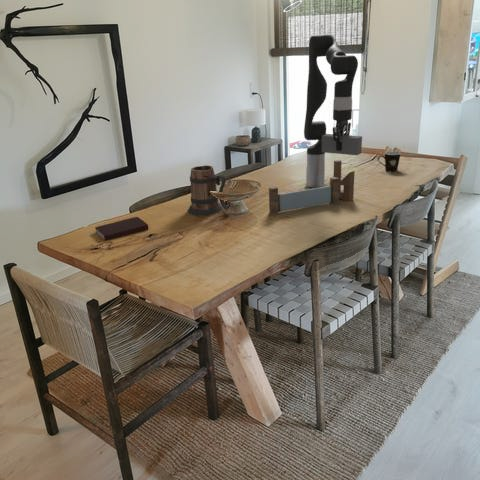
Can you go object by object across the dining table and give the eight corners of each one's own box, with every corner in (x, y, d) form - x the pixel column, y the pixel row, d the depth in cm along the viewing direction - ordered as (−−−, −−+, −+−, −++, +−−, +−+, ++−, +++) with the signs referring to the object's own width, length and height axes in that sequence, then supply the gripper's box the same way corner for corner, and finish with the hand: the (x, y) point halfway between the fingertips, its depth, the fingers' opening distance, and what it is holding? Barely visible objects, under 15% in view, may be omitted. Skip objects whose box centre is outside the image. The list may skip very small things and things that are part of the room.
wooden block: (348, 201, 224) (350, 164, 217) (330, 197, 231) (331, 160, 225) (353, 199, 226) (355, 162, 219) (335, 195, 234) (336, 159, 227)
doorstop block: (321, 152, 204) (321, 135, 201) (326, 150, 207) (326, 133, 204) (357, 155, 195) (358, 138, 193) (361, 153, 199) (362, 136, 196)
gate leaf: (275, 210, 215) (275, 193, 212) (328, 201, 224) (328, 185, 221) (278, 212, 213) (277, 195, 210) (331, 202, 221) (331, 186, 218)
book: (149, 230, 202) (148, 223, 201) (105, 242, 193) (103, 234, 191) (137, 223, 212) (136, 216, 211) (95, 233, 202) (94, 226, 201)
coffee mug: (401, 169, 273) (402, 152, 269) (396, 173, 266) (398, 155, 262) (380, 167, 279) (382, 150, 275) (376, 171, 272) (377, 153, 268)
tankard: (180, 212, 221) (175, 170, 213) (201, 202, 234) (198, 162, 226) (221, 219, 209) (218, 175, 201) (241, 208, 222) (239, 166, 214)
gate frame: (269, 213, 214) (268, 187, 209) (335, 201, 225) (335, 176, 220) (272, 215, 211) (271, 189, 207) (338, 203, 222) (339, 178, 217)
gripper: (341, 105, 201) (339, 145, 208) (326, 110, 191) (325, 152, 197) (357, 105, 197) (356, 146, 204) (344, 110, 187) (342, 153, 193)
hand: (341, 149), depth 201 cm, fingers closed on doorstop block, 4 cm apart
